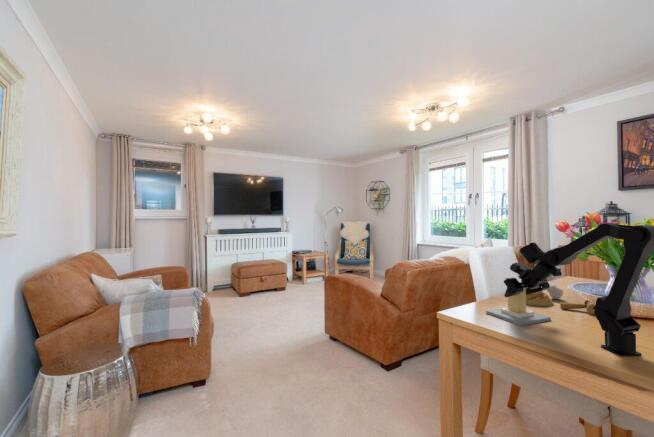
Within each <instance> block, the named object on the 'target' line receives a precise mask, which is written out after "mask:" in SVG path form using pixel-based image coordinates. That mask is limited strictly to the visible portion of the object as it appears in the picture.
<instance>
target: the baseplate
mask: <svg viewBox="0 0 654 437" xmlns="http://www.w3.org/2000/svg"><path fill="white" fill-rule="evenodd" d="M485 314H487V315H490V316H493V317H496V318H498V319H501V320H504V321H506V322H510V323H512V324H514V325H516V326H521V327H522V326H528V325H533V324H539V323H544V322H548V321H551V320H552V318H551V316H547V315H545V314H541V313H538V312H534V311H532V310H530V309H529V310H528V309H526V312H524V313H515V312H512V311H509V310H508V306H507V307H500V308H493V309H487V310H485Z"/></svg>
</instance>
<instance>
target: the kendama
mask: <svg viewBox="0 0 654 437" xmlns="http://www.w3.org/2000/svg"><path fill="white" fill-rule="evenodd" d="M595 305H596V304H595V303H592V302H590V301H588V300H587V299H585V300H584V302H583V303H576V302H559V306H560V309H561V310H577V309H579V310H581V309H586V311H587V313H589V314H591V315H594V311H595V309H593V307H595Z"/></svg>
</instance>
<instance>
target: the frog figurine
mask: <svg viewBox="0 0 654 437" xmlns="http://www.w3.org/2000/svg"><path fill="white" fill-rule="evenodd" d="M549 285H550V287H549V288H548V289H547V290H546V291H547V292H548V294H549V295H548V296H549V298H550V299H554V300H559V299H561V298H562V296H563V294H564V290H563V289H562V288H561V287H558V286H557V285H555V284H549Z"/></svg>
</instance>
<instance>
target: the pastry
mask: <svg viewBox="0 0 654 437" xmlns="http://www.w3.org/2000/svg"><path fill="white" fill-rule="evenodd" d="M526 305H529V306H534V307H535V306H536V307H552V306H554V305H555V304H554V302H553V300H552V298H551V297H550V295H548V293H545V292H544V291H540V292H535V293H530V294H526Z"/></svg>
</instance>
